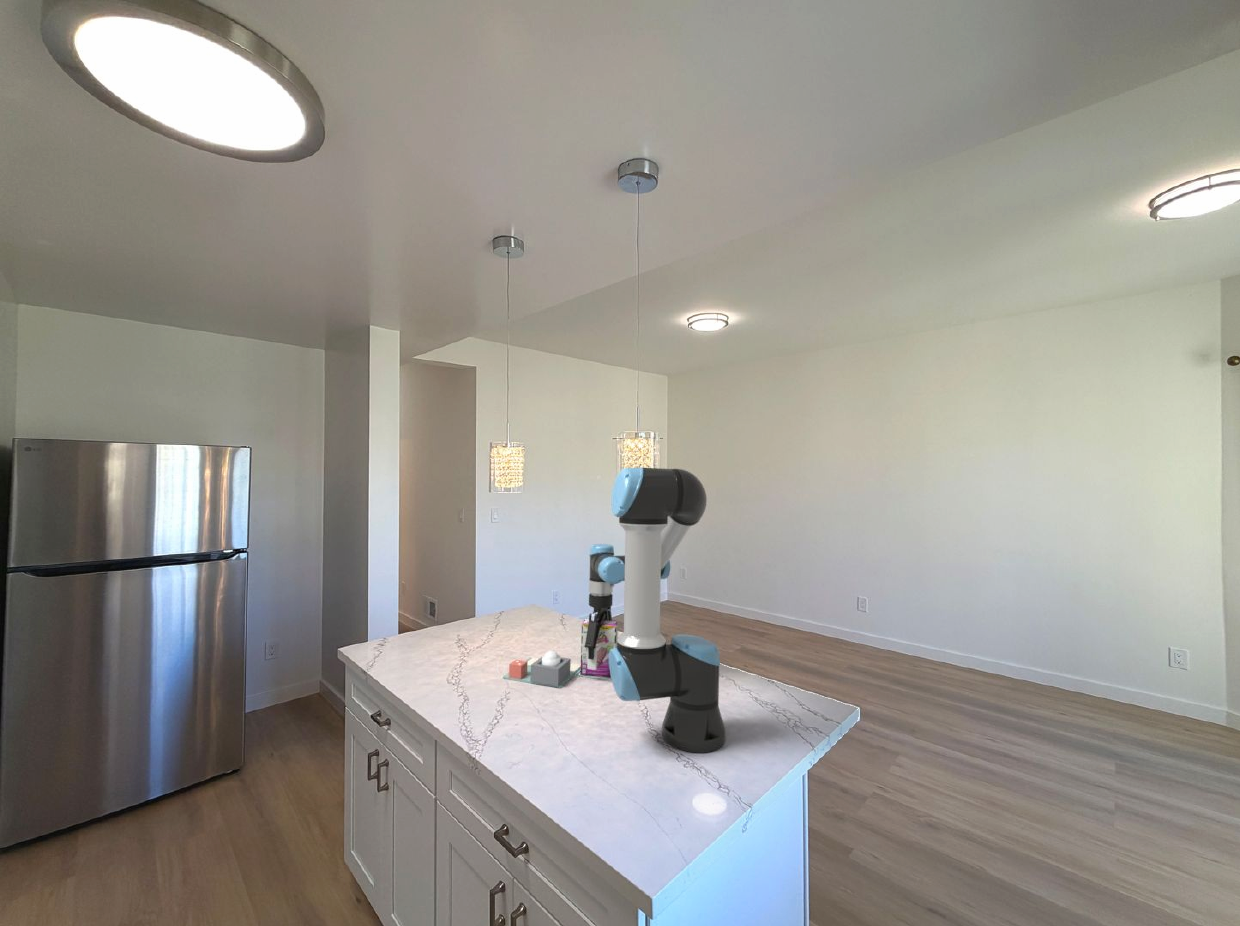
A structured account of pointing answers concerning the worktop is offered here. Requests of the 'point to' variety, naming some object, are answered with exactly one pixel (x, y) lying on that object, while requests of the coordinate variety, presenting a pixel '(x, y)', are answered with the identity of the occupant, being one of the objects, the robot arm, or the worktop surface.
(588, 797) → the worktop surface
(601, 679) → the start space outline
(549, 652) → the dome plunger
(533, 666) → the game board
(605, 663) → the candy bar box
